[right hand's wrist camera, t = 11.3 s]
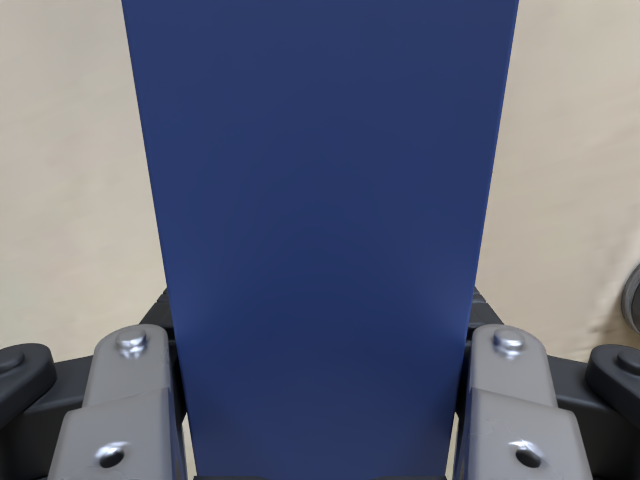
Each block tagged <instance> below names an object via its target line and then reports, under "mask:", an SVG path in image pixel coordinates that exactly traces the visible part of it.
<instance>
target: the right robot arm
mask: <svg viewBox="0 0 640 480" xmlns="http://www.w3.org/2000/svg"><path fill="white" fill-rule="evenodd" d="M622 312H623V316H624V318H625V320H626V322H627V323H628V325H629V326H630V327H631V328H632V329H633V330H634V331H636V332H637V333H638V334H640V264H639V265H638V266H637V268H636V269H635V270H634V271H633V273H632V274H631V276H630V277H629V279H628V281H627V283H626V285H625V288H624V291H623V295H622ZM186 412H187V409H186V403H185V396H184V390H183V384H182V377H181V371H180V365H179V359H178V352H177V346H176V340H175V334H174V327H173V321H172V315H171V308H170V302H169V296H168V290H167V288H166V289H165V290H164V292H163V294H161V296H160V297H159V298H158V300H157V303H155V304H154V305H153V306H152V307H151V309H150V310H149V311H148V313H147V314H146V315H145V317H144V318H143V319H142V320H141V322H140V323H139V324H138V325H132V326H128V327H125V328H121V329H119V330H116V331H114V332H112V333H110V334H109V335H107V336H106V337H104V338H103V339H102V340H101V341H100V342H99V343H98V344H97V346H96V347H95V350H94V354H93V355H92V356H87V357H83V358H77V359H72V360H67V361H62V362H57V363H54V362H53V358H52V355H51V351H50V349H49V348H48V347H47V346H45V345H42V344H37V343H27V344H19V345H14V346H10V347H7V348H4V349H1V350H0V480H188V477H187V466H186V455H185V444H184V433H183V427H182V422H183V420H184V417H185V415H186ZM455 412H456V413H457V415H458V418H459V421H458V427H457V433H456V444H455V455H454V466H453V477H452V480H640V350H638V349H635V348H631V347H627V346H622V345H614V344H606V345H600V346H597V347H595V348H594V349H593V350H592V352H591V355H590V358H589V361H588V363H583V362H578V361H573V360H567V359H562V358H557V357H553V356H549V355H547V354H546V350H545V347H544V346H543V344H542V343H541V342H540V341H539V340H538V339H537V338H536V337H534V336H533V335H531V334H530V333H528V332H526V331H524V330H521V329H519V328H515V327H512V326H508V325H504V324H503V322H502V321H501V320H500V318H499V317H498V316H497V315H496V313H495V312H494V311H493V309H492V308H491V307H490V306H489V304H488V303H486V300H485V299H484V298H483V297H482V295H480V293H479V291H478V290H477V289H476V287H475V286H474V292H473V298H472V305H471V311H470V318H469V324H468V330H467V337H466V343H465V350H464V356H463V362H462V369H461V375H460V382H459V388H458V395H457V401H456V407H455ZM193 480H270V479H266V478H262V477H258V476H194V479H193ZM370 480H447V479H446V476H382V477H378V478H374V479H370Z"/></svg>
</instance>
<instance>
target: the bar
mask: <svg viewBox="0 0 640 480" xmlns="http://www.w3.org/2000/svg"><path fill="white" fill-rule="evenodd" d="M121 1H122V7H123V14H124V20H125V26H126V32H127V39H128V45H129V51H130V57H131V64H132V70H133V76H134V83H135V89H136V95H137V101H138V108H139V114H140V120H141V126H142V133H143V139H144V145H145V152H146V158H147V164H148V170H149V177H150V183H151V189H152V195H153V202H154V208H155V214H156V221H157V227H158V233H159V239H160V246H161V252H162V258H163V265H164V271H165V277H166V283H167V290H168V296H169V302H170V308H171V315H172V321H173V327H174V334H175V340H176V346H177V352H178V359H179V365H180V371H181V377H182V384H183V390H184V396H185V403H186V409H187V415H188V421H189V428H190V434H191V440H192V447H193V453H194V459H195V465H196V472H197V476H258V477H262V478H266V479H270V480H370V479H374V478H378V477H382V476H445V472H446V465H447V459H448V452H449V446H450V439H451V433H452V427H453V420H454V414H455V407H456V401H457V395H458V388H459V382H460V375H461V369H462V362H463V356H464V350H465V343H466V337H467V330H468V324H469V318H470V311H471V305H472V298H473V292H474V286H475V279H476V273H477V266H478V260H479V253H480V247H481V241H482V234H483V228H484V221H485V215H486V209H487V202H488V196H489V189H490V183H491V177H492V170H493V164H494V157H495V151H496V144H497V138H498V132H499V125H500V119H501V112H502V106H503V100H504V93H505V87H506V80H507V74H508V68H509V61H510V55H511V48H512V42H513V35H514V29H515V23H516V16H517V10H518V3H519V0H121Z"/></svg>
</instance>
